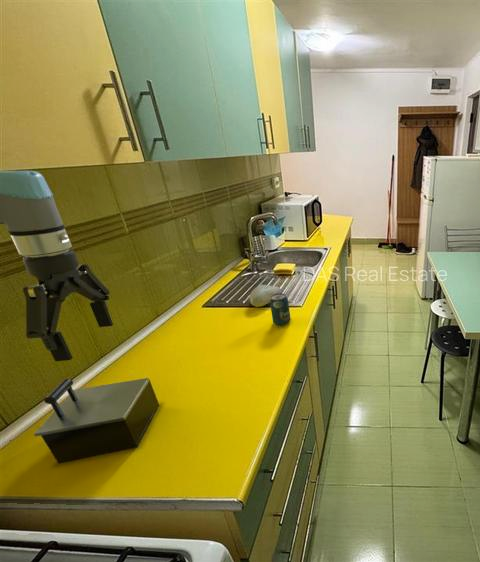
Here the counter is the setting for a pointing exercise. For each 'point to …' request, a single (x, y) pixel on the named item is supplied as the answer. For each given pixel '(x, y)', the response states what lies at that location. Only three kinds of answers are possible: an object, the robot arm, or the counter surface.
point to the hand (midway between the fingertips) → (87, 341)
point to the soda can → (280, 309)
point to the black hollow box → (105, 433)
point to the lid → (90, 405)
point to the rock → (263, 295)
